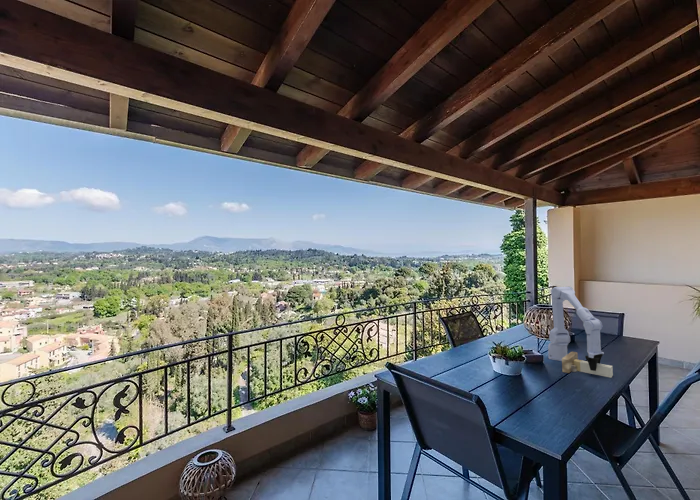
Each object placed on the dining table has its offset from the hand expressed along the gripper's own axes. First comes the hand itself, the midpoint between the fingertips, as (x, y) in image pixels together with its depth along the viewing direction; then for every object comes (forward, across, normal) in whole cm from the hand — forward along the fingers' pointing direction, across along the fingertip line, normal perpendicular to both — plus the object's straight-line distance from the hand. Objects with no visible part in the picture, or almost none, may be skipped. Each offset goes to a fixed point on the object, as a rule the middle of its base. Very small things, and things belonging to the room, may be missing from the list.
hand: (594, 368), depth 170 cm
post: (+2, 0, +11) cm, 11 cm away
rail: (+2, 0, +1) cm, 3 cm away
